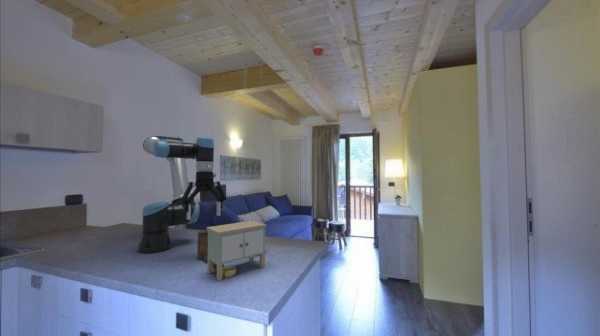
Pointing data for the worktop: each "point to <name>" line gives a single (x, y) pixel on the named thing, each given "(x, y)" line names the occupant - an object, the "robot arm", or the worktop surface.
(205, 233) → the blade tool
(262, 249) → the cabinet
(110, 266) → the worktop surface
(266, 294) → the worktop surface
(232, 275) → the token
